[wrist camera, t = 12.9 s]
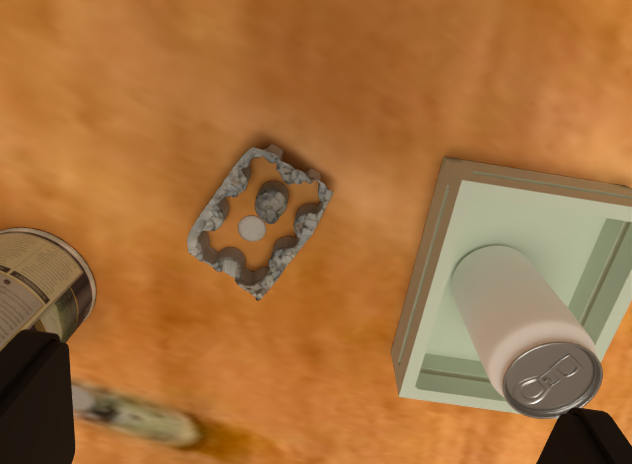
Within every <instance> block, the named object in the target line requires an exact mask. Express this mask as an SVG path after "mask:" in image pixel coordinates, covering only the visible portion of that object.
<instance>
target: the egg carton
mask: <svg viewBox="0 0 632 464" xmlns="http://www.w3.org/2000/svg"><path fill="white" fill-rule="evenodd" d="M282 155H283V150H282V149H280V148H279V147H277V146H276V145H274V144H271V145H270V146H269V147H268V148H266V149H264V150H261V149H258V148H254V147H252V148H250V149H249V150H248V151H247V152H246V153H245V154H244V155H243V156H242V157H241V158H240V160H239V161H238V162H237V163H236V165H235V166H234V167H233V169H232V170H231V172H230V173H229V175H228V176H227V177H226V178H225V180H224V182H223V184H222V185H221V187H220V188H219V189H218V190H217V191H216V193H215V194H214V196H213V197H212V199H211V200H210V202H209V203H208V204H207V206H206V207H205V209H204V210H203V212H202V213H201V214H200V215H199V217H198V219H197V220H196V222H195V224H194V225H193V227H192V229H191V231H190V233H189V235H188V238H187V245H188V252H189V253H190V254H192V255H193V256H195V257H196V258H197V259H198V260H199V261H203V262H205V263H207V264H209V265H210V266H212V267H213V268H214V269H215V270H216V271H218V272H221V271H224V272H225V273H227V274H229V275H230V276H232V277H234V278H235V281H236V283H237V284H238V285H239V286H240V287H241V288H242V289H244V290H246V291H247V292H250V293H251V294H252V295H253V296H255V297H256V298H255V299H256V300H257V301H258V300H260V299H262V297H263V296H264V295H265V294H266V293H267V292H268V291H269V289H270V288H271V286H272V285H273V284H274V283H275V282H276V281H277V279H278V278H279V277H280V275H281V274H282V272H283V271H284V269H285V268H286V266H287V265H288V264H289V263H290V262H291V260H292V259H293V258H294V257H295V256H296V254H297V253H298V251H299V250H300V249H301V248H302V246H303V245H304V244H305V243H306V241H307V240H308V239H309V238H310V236H311V235H312V234H313V232H314V230H315V228H316V226H317V224H318V223H319V221H320V219H321V216H322V214H323V212H324V210H325V208H326V206H327V204H328V202H329V200H330V199H331V197H332V195H333V192H334V191H330V190H329V189H328V188H327V187H326V185H325V184H324V183H322V182H321V181H320V179H321V174H319V173H318V172H316V171H315V170H313V169H312V168H309V169H308V170H307V171H306V172H302V171H300V170H295V169H294V168H293V167H292V166H291V165H289V164H287V163H284V162H282ZM261 156H263V157H264V158H265V159H267V160H268V161H269V162H270V163H276V162H277V167H276V169H277V171H278V172H280V174H281V177H282V179H283V181H284V182H285V183H287V184H288V185H290V184H292V183H296V184H301V183H302V182H304V181H306V182H307V183H309V184H311V183H312V182H313V181H314V180H317V181H318V182H319V188H318V197H319V199H320V201H321V202H320V203H319V204H318V205H315V204H305V205H303V206H301V207H300V208H299V209H298V211H297V213H296V216H295V221H294V224H293V225H294V230H295V233H296V237H295V238H293V237H289V236H287V237H283V238H280V239H278V240H277V241H276V243H275V245H274V248H273V252H272V255H271V258H270V259H269V267H263V268H260V269H258V270H257V271H255V272H252V271H251V270H249V269H247V268H246V267H245V266H244V265H245V256H244V254H243V253H242V252H241V251H240V250H239V249H237V248H233V247H227V248H224V249H222V250H221V251H220V252H217V251H215V250H214V249H213V248H211V247H210V246H209V235H208V234H207V232H206V231H215V230H216V229H218V228H220V227H221V225H222V224H223V222H224V220H225V218H226V216H227V214H228V212H229V203H228V201H227V200H226V197H229V196H232V197H237V196H238V195H239V194H240V193H241V192H243V191H244V190H246V187H247V183H248V181H249V179H250V176H251V169H250V166H249V165H250V160H251V159H252V158H256V157H257V158H259V157H261ZM288 191H289V190H288V189H287V188H286V187H285V186H284V184H282V183H280V182H277V181H269V182H266V183H264V184H263V185H262V186H261V188H260V190H259V192H258V195H257V197H256V202H255V210H256V213H257V215H258V216H259V217H257V216H252V215H249V216H246V217H244V218H243V219H241V220H240V222H239V224H238V231H239V234H240V236H241V237H242V238H244V239H245V240H247V241H257V240H260V239H261V238H262V237H264V235H265V233H266V225H265V223H264V221H265V222H266V223H268V224H273V223H275V222H276V221H277V220H278V219H279V217H280V216H281V215H282V214H283V213H284V211H285V210H286V208H287V202H288V197H289V193H288ZM261 218H262V219H263V220H264V221H263V220H262V219H261Z"/></svg>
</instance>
